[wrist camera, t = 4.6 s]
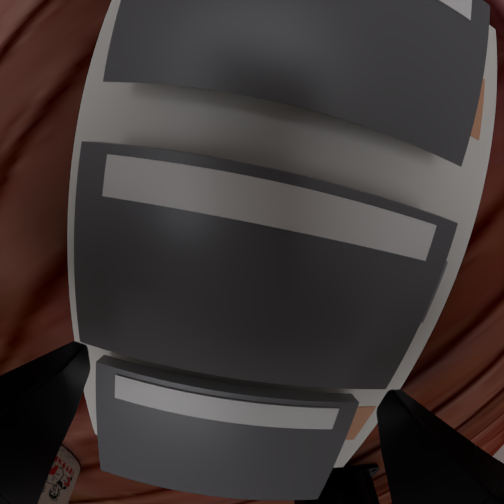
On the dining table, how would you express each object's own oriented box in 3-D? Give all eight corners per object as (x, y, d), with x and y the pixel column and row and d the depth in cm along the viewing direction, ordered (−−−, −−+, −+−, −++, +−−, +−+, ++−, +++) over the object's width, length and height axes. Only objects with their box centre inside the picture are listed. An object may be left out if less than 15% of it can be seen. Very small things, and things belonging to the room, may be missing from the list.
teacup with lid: (94, 462, 20) (63, 555, 9) (71, 477, 22) (45, 548, 11) (-6, 386, 17) (-62, 467, 6) (-11, 416, 19) (-51, 481, 8)
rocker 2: (442, 216, 9) (459, 224, 8) (378, 374, 11) (386, 390, 10) (97, 141, 8) (80, 141, 7) (90, 327, 10) (78, 343, 9)
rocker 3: (351, 393, 13) (360, 403, 12) (313, 488, 13) (318, 500, 12) (104, 354, 12) (95, 362, 11) (106, 459, 12) (100, 470, 11)
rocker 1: (475, 8, 6) (491, 5, 5) (446, 159, 9) (462, 167, 8) (164, -79, 5) (155, -91, 4) (116, 82, 8) (101, 81, 7)
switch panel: (474, 36, 9) (511, 24, 6) (337, 447, 19) (346, 481, 15) (158, -53, 8) (140, -88, 5) (103, 414, 17) (88, 448, 14)
